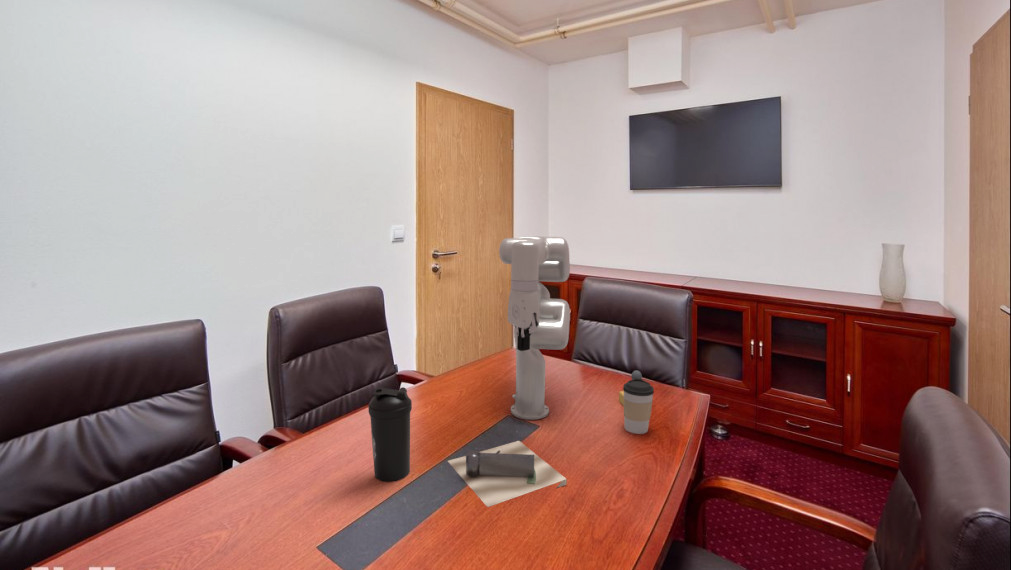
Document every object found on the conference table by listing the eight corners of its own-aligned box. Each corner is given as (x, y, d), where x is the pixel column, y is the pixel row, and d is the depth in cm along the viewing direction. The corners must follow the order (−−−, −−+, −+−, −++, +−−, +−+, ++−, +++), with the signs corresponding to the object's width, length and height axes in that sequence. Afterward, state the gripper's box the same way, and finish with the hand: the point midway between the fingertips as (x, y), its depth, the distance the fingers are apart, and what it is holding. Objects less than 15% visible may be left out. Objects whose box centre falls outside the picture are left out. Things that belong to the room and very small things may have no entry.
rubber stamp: (625, 407, 160) (627, 374, 159) (618, 401, 166) (620, 368, 164) (652, 406, 162) (654, 372, 160) (644, 399, 168) (646, 367, 166)
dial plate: (447, 466, 123) (447, 460, 123) (518, 445, 134) (518, 439, 134) (487, 513, 105) (487, 506, 104) (566, 484, 116) (566, 478, 115)
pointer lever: (465, 476, 115) (464, 457, 114) (467, 468, 119) (466, 450, 118) (533, 479, 114) (534, 460, 113) (533, 471, 118) (534, 452, 117)
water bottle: (375, 467, 122) (372, 382, 119) (415, 465, 123) (413, 382, 119) (367, 490, 112) (363, 399, 109) (410, 488, 113) (408, 398, 109)
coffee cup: (652, 437, 140) (656, 389, 137) (621, 434, 142) (624, 386, 139) (649, 423, 149) (652, 378, 146) (620, 420, 150) (622, 376, 148)
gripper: (499, 283, 135) (499, 344, 138) (528, 291, 123) (526, 359, 126) (521, 281, 139) (520, 341, 142) (551, 289, 126) (549, 354, 129)
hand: (523, 349), depth 134 cm, fingers closed
